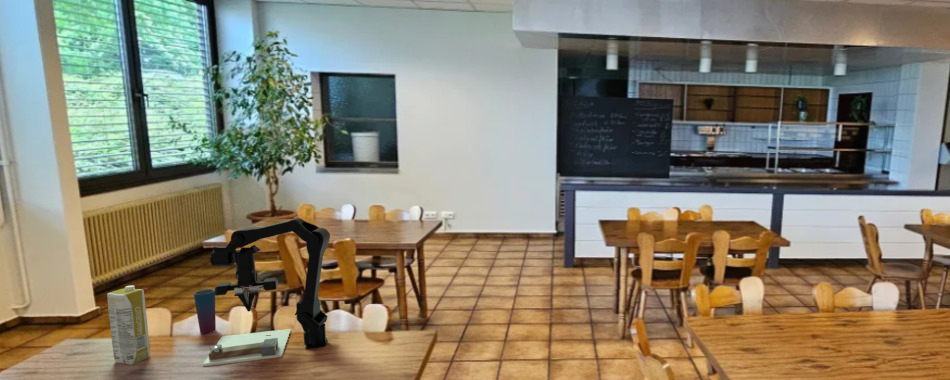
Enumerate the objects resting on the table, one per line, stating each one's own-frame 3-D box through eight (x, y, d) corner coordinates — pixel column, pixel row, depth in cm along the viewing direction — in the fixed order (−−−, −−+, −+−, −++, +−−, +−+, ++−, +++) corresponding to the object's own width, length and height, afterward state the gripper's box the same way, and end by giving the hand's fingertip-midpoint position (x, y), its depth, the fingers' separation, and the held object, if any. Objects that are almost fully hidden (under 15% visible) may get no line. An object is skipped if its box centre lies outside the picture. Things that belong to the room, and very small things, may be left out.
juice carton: (154, 356, 161) (147, 284, 158) (131, 367, 154) (123, 292, 151) (134, 352, 164) (126, 282, 162) (110, 363, 157) (101, 290, 154)
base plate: (291, 330, 179) (290, 319, 179) (282, 356, 158) (281, 343, 157) (222, 338, 174) (221, 326, 174) (203, 366, 153) (202, 353, 152)
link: (209, 359, 155) (208, 354, 155) (211, 354, 158) (211, 349, 158) (277, 350, 160) (276, 344, 160) (278, 345, 164) (277, 340, 164)
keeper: (278, 346, 164) (277, 337, 163) (275, 355, 157) (274, 345, 157) (265, 348, 163) (264, 339, 162) (261, 356, 156) (261, 347, 156)
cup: (209, 335, 177) (205, 295, 175) (192, 334, 178) (189, 294, 177) (222, 328, 184) (219, 289, 182) (206, 327, 185) (203, 288, 183)
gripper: (278, 257, 175) (281, 300, 176) (220, 262, 170) (224, 306, 172) (274, 265, 164) (277, 310, 166) (212, 270, 159) (216, 317, 161)
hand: (249, 311), depth 166 cm, fingers closed
